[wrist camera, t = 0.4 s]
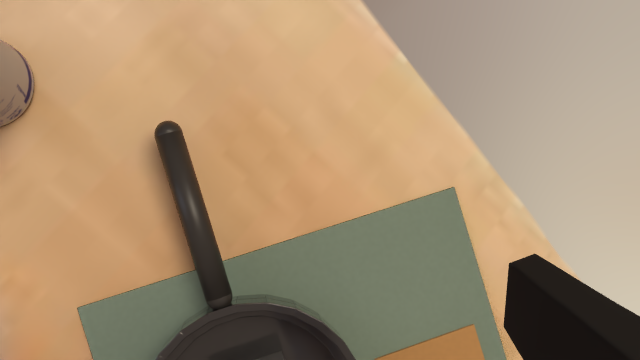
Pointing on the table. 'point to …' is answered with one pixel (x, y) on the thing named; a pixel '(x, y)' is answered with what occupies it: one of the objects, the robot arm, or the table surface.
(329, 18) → the table surface
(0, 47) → the energy drink
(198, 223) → the pan handle
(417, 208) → the desk mat
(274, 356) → the dice cube
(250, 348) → the frying pan
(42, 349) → the table surface
